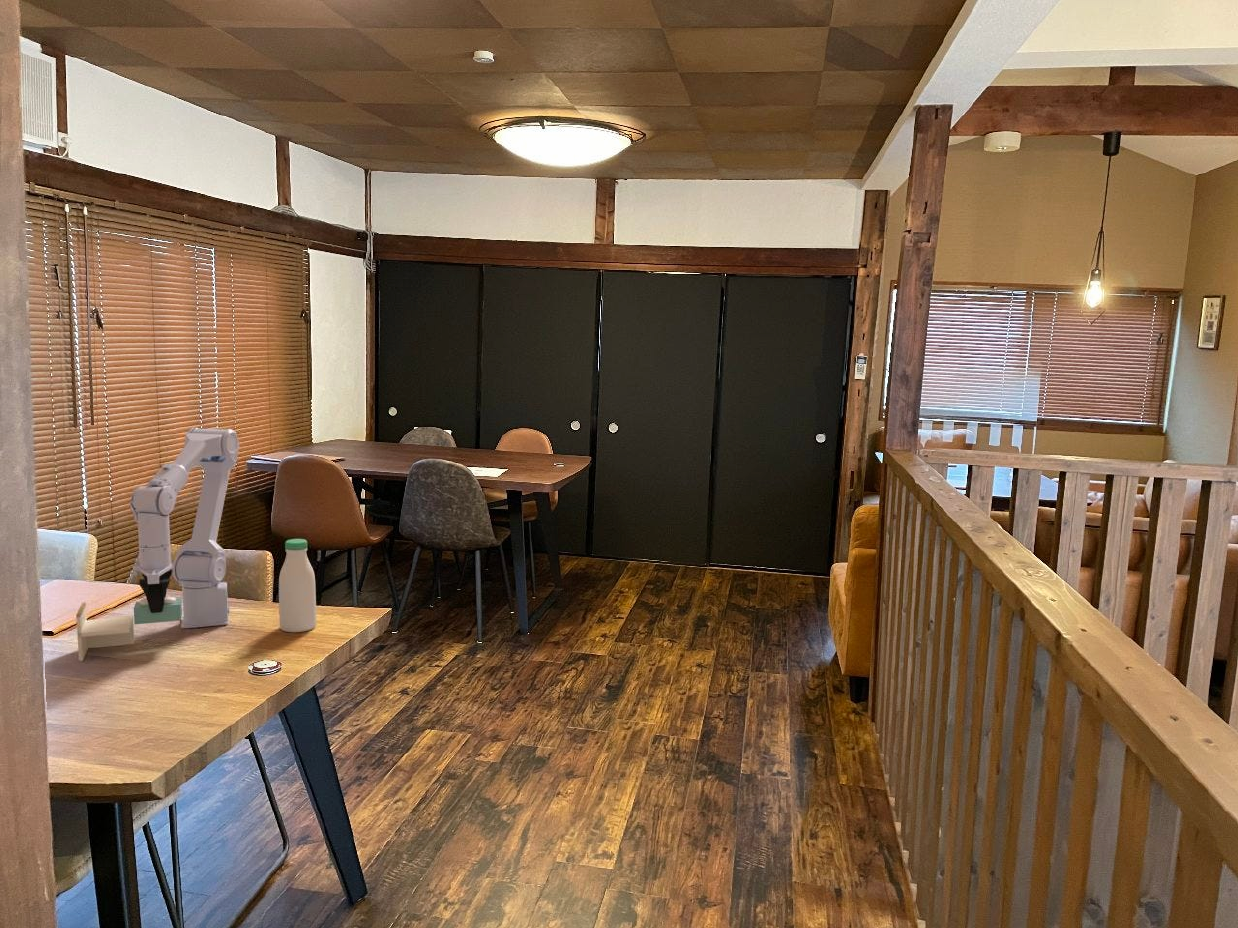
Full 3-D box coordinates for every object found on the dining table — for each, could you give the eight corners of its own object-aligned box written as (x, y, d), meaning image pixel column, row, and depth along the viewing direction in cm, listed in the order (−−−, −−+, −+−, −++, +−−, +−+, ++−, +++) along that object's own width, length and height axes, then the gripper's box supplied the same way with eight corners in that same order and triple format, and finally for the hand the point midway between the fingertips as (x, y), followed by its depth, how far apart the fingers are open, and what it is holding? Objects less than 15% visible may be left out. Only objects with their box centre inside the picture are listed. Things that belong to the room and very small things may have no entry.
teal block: (182, 613, 190) (181, 594, 190) (180, 620, 186) (180, 600, 185) (136, 617, 187) (135, 598, 186) (134, 624, 183) (133, 604, 182)
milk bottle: (322, 628, 202) (321, 541, 199) (290, 635, 197) (288, 546, 194) (305, 619, 207) (303, 534, 204) (273, 627, 202) (271, 540, 199)
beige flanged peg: (134, 642, 189) (132, 598, 188) (130, 656, 182) (128, 610, 181) (85, 647, 186) (82, 602, 184) (79, 661, 179) (76, 614, 177)
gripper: (136, 537, 189) (139, 599, 191) (128, 554, 176) (132, 621, 178) (173, 535, 192) (176, 596, 194) (169, 551, 179) (172, 617, 181)
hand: (157, 608), depth 186 cm, fingers closed on teal block, 4 cm apart
